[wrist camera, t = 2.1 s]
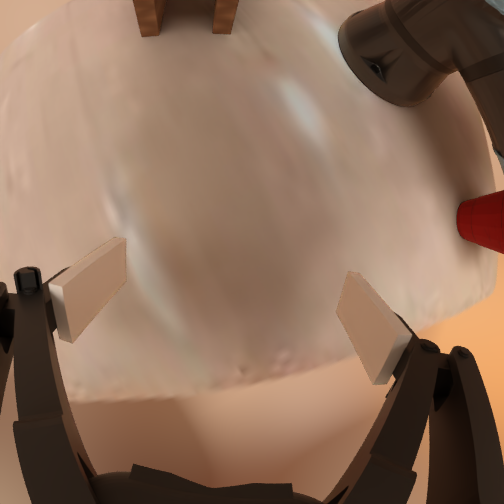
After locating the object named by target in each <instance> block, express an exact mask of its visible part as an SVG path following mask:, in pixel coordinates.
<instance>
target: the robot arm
mask: <svg viewBox="0 0 504 504" xmlns="http://www.w3.org/2000/svg"><path fill="white" fill-rule="evenodd" d="M338 38H339V45H340V48H341V51H342V53H343V56H344V58H345V59H346V61H347V63H348V65H349V66H350V68H351V69H352V70H353V72H354V73H355V74H356V75H357V76H358V78H359V79H360V80H361V81H362V82H363V83H364V84H365V85H366V86H367V87H368V88H370V89H371V90H372V91H373V92H374V93H376V94H377V95H379V96H380V97H382V98H383V99H385V100H387V101H389V102H391V103H393V104H396V105H399V106H414V105H416V104H418V103H421V102H423V101H425V100H426V99H428V98H429V97H430V96H431V95H432V93H433V92H434V90H435V89H436V88H437V87H438V86H439V85H440V84H441V83H442V81H443V80H444V79H445V78H446V77H447V76H448V75H449V74H451V73H453V72H455V71H459V72H460V74H461V76H462V78H463V79H464V81H465V83H466V85H467V87H468V89H469V91H470V93H471V95H472V97H473V99H474V101H475V103H476V105H477V107H478V109H479V111H480V114H481V116H482V118H483V120H484V123H485V125H486V127H487V130H488V132H489V135H490V138H491V141H492V146H493V150H494V152H495V154H496V155H497V157H498V159H499V162H500V164H501V168H502V170H503V173H504V0H385V1H384V2H382V3H379V4H377V5H375V6H372V7H370V8H368V9H366V10H362V11H358V12H356V13H354V14H352V15H351V16H350V17H349V18H348V19H347V20H346V21H345V22H344V23H343V24H342V26H341V27H340V30H339V35H338ZM14 280H15V285H16V290H17V294H14V293H8V291H7V287H6V284H5V283H3V282H0V413H1V407H2V401H3V396H4V391H5V386H6V382H7V378H8V374H9V369H10V365H11V362H12V358H13V355H14V378H15V392H16V402H17V410H18V418H19V421H14V423H13V432H14V438H15V443H16V448H17V453H18V457H19V462H20V466H21V470H22V474H23V477H24V481H25V484H26V487H27V491H28V494H29V497H30V500H31V503H32V504H406V503H407V501H408V498H409V496H410V494H411V491H412V489H413V486H414V484H415V481H416V477H417V473H416V472H414V471H412V467H413V464H414V461H415V459H416V456H417V453H418V450H419V446H420V443H421V440H422V437H423V433H424V430H425V426H426V423H427V419H428V415H429V435H430V439H429V440H430V451H429V452H430V453H429V478H428V491H427V500H426V504H504V464H503V458H502V452H501V446H500V442H499V437H498V432H497V428H496V424H495V420H494V416H493V412H492V409H491V405H490V402H489V398H488V395H487V392H486V389H485V386H484V383H483V380H482V377H481V375H480V372H479V369H478V366H477V364H476V361H475V358H474V356H473V355H472V353H471V352H470V351H469V350H468V349H466V348H465V347H461V346H455V347H453V349H452V350H451V352H450V354H444V353H440V349H439V347H438V346H437V345H436V344H435V343H433V342H431V341H429V340H426V339H419V338H418V337H417V336H416V334H415V333H414V332H413V331H412V329H411V328H409V326H408V325H407V323H406V322H405V321H404V320H403V319H402V317H400V316H399V315H398V314H396V313H395V312H393V311H392V310H391V308H390V307H389V306H388V305H387V304H386V303H385V301H384V300H383V299H382V298H381V297H380V296H379V295H378V293H377V292H376V291H375V290H374V289H373V288H372V287H371V285H370V284H369V283H368V282H367V281H366V280H365V279H364V278H363V276H362V275H361V274H360V273H356V272H349V271H348V274H347V277H346V281H345V284H344V287H343V291H342V294H341V297H340V300H339V304H338V307H337V310H336V313H337V315H338V317H339V319H340V321H341V322H342V324H343V326H344V328H345V330H346V332H347V334H348V336H349V338H350V340H351V342H352V344H353V346H354V348H355V350H356V352H357V354H358V356H359V358H360V360H361V362H362V364H363V365H364V368H365V370H366V372H367V374H368V376H369V378H370V380H371V382H372V384H373V385H381V384H387V383H388V381H389V379H390V377H391V376H392V374H393V376H394V377H395V379H396V380H395V382H394V383H393V385H392V387H391V389H390V390H389V392H388V394H387V395H386V400H385V402H384V405H383V407H382V409H381V411H380V413H379V415H378V417H377V419H376V420H375V422H374V424H373V426H372V428H371V430H370V432H369V434H368V435H367V437H366V439H365V441H364V442H363V444H362V446H361V448H360V449H359V451H358V453H357V454H356V456H355V457H354V459H353V461H352V462H351V464H350V465H349V467H348V469H347V470H346V472H345V473H344V475H343V476H342V478H341V479H340V480H339V482H338V483H337V485H336V486H335V488H334V489H333V490H332V492H331V493H330V494H329V495H328V496H327V497H326V499H325V500H324V501H323V502H321V501H319V500H317V499H315V498H312V497H310V496H307V495H304V494H300V493H295V492H293V490H292V484H291V483H286V484H264V483H251V484H245V485H239V486H230V487H222V488H209V487H206V486H203V485H200V484H197V483H195V482H192V481H189V480H187V479H184V478H182V477H179V476H177V475H174V474H172V473H169V472H164V471H160V470H155V469H151V468H147V467H144V466H140V465H136V464H133V466H132V470H131V472H111V473H106V474H101V475H97V473H96V471H95V469H94V468H93V466H92V464H91V462H90V460H89V457H88V455H87V453H86V450H85V448H84V445H83V443H82V440H81V437H80V435H79V432H78V429H77V427H76V424H75V421H74V418H73V415H72V412H71V408H70V405H69V402H68V398H67V395H66V391H65V387H64V384H63V380H62V376H61V371H60V367H59V362H58V358H57V353H56V347H55V342H54V337H53V332H54V330H55V329H56V328H57V330H58V334H59V338H60V339H61V340H64V341H67V342H70V343H74V341H75V340H76V339H77V338H78V336H79V335H80V334H81V333H82V332H83V330H84V329H85V328H86V327H87V326H88V324H89V323H90V322H91V321H92V320H93V319H94V317H95V316H96V315H97V314H98V313H99V312H100V310H101V309H102V308H103V307H104V306H105V305H106V304H107V302H108V301H109V300H110V299H111V298H112V297H113V296H114V295H115V294H116V292H117V291H118V290H119V289H120V288H121V287H122V286H123V285H124V284H125V283H126V239H124V238H117V237H114V238H113V239H111V240H110V241H108V242H107V243H105V244H103V245H102V246H100V247H99V248H97V249H96V250H94V251H93V252H91V253H90V254H88V255H87V256H86V257H84V258H83V259H81V260H80V261H78V262H77V263H75V264H74V265H73V266H71V267H68V268H65V269H63V270H61V271H60V272H59V273H58V274H56V275H54V276H53V278H50V279H49V280H48V281H46V282H45V283H43V284H42V278H41V271H40V269H39V268H37V267H24V268H21V269H18V270H17V271H16V272H15V273H14Z"/></svg>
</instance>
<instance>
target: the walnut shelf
mask: <svg viewBox="0 0 504 504" xmlns="http://www.w3.org/2000/svg"><path fill="white" fill-rule="evenodd" d="M238 2H239V0H215V7H214V20H213V33H214V34H231V30H232V26H233V22H234V18H235V14H236V10H237V6H238ZM133 3H134V7H135V11H136V16H137V20H138V24H139V28H140V32H141V36H142V37H146V36H156V35H159V33H160V28H161V23H162V18H163V13H164V9H165V5H166V0H133Z"/></svg>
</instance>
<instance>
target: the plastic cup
mask: <svg viewBox="0 0 504 504" xmlns="http://www.w3.org/2000/svg"><path fill="white" fill-rule="evenodd" d="M457 227H458V231H459V233H460V236H462V237H463V238H464V239H466V240H468V241H471V242H474V243H477V244H479V245H480V246H483V247H486V248H489V249H491V250H494V251H497V252H500V253H502V254H504V190H503V191H499V192H495V193H491V194H488V195H484V196H480V197H478V198H475V199H471V200H467V201H465V202H463V203H462V204H460V206H459V208H458V212H457Z"/></svg>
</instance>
